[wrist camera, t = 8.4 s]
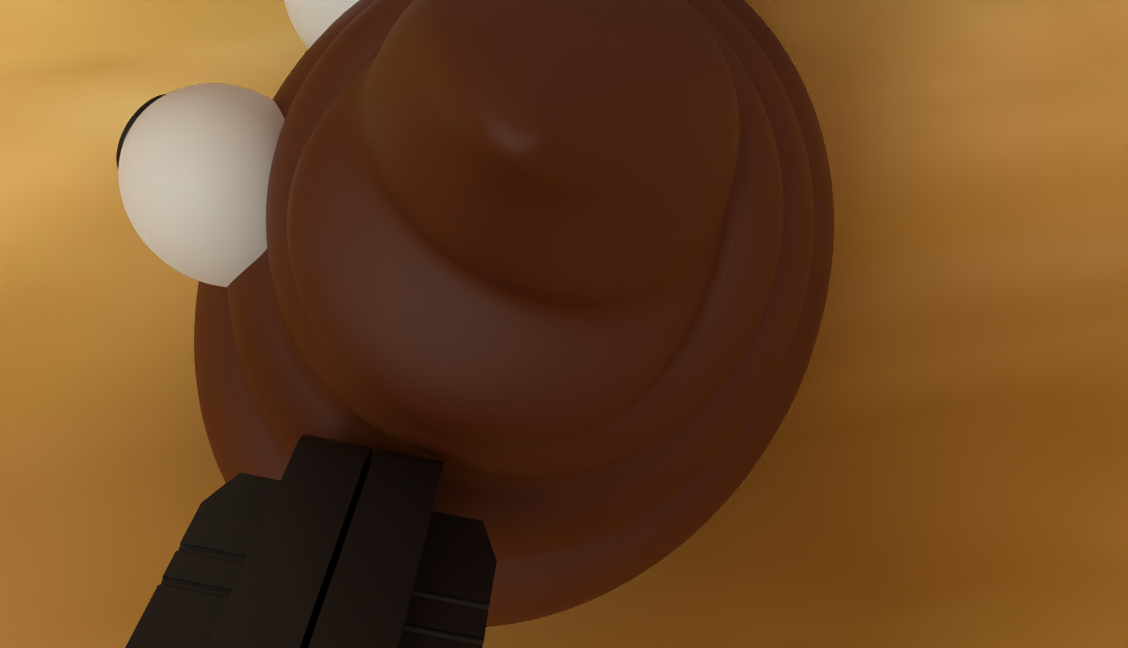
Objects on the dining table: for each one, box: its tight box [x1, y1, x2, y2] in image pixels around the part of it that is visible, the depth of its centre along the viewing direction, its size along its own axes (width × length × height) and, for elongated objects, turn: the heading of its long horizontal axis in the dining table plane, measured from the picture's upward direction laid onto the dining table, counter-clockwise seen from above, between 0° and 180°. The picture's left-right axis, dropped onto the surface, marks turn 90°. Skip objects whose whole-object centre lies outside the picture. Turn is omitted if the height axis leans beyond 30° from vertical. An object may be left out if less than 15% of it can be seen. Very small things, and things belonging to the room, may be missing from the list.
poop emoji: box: [116, 0, 834, 627], centre depth 12 cm, size 10×8×9 cm
